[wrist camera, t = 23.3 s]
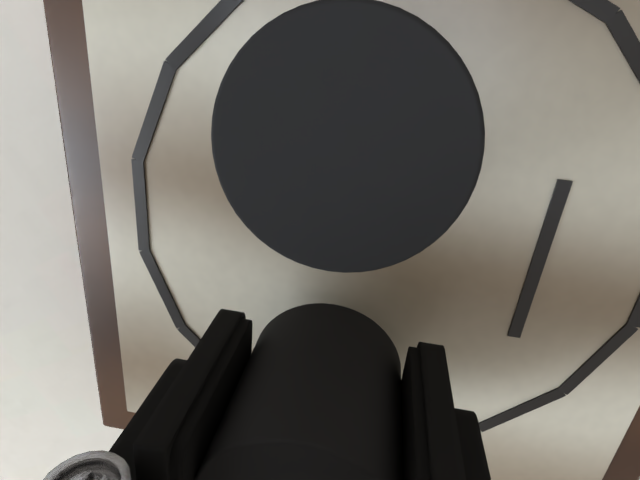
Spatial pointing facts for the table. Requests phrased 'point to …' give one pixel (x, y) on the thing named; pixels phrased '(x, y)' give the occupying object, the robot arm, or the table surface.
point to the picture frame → (402, 278)
